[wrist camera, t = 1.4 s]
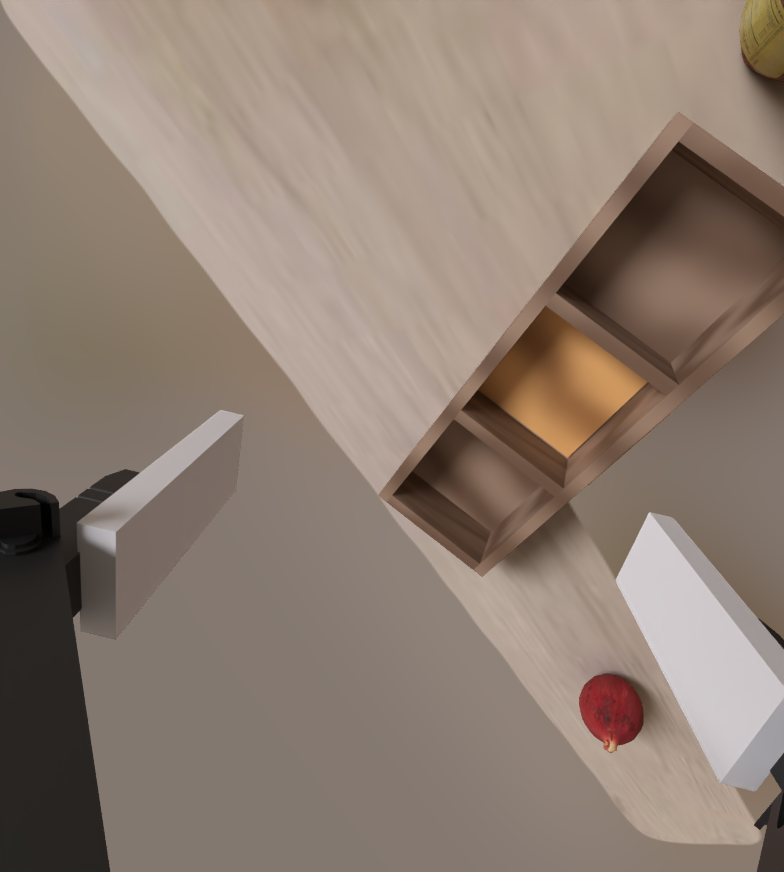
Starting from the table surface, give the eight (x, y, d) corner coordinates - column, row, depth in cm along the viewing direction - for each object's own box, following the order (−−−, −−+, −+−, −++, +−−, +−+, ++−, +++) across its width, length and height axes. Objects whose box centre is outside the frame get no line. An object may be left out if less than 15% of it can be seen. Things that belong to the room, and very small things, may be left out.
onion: (578, 652, 52) (574, 720, 45) (639, 660, 49) (644, 733, 43) (583, 693, 54) (580, 763, 47) (642, 701, 51) (648, 777, 45)
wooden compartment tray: (667, 124, 31) (678, 111, 26) (827, 239, 31) (870, 248, 26) (401, 465, 50) (378, 495, 45) (498, 540, 50) (485, 579, 45)
